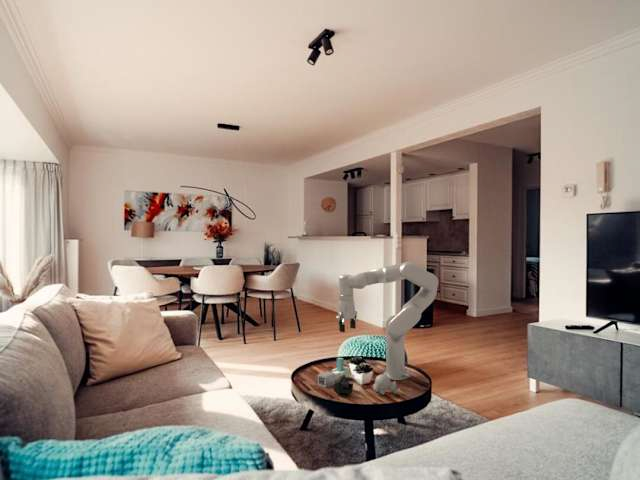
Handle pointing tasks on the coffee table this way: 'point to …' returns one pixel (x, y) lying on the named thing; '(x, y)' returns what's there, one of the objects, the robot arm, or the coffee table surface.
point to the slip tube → (339, 367)
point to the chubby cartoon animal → (384, 385)
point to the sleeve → (326, 379)
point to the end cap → (343, 386)
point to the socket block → (343, 372)
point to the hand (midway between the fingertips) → (347, 330)
